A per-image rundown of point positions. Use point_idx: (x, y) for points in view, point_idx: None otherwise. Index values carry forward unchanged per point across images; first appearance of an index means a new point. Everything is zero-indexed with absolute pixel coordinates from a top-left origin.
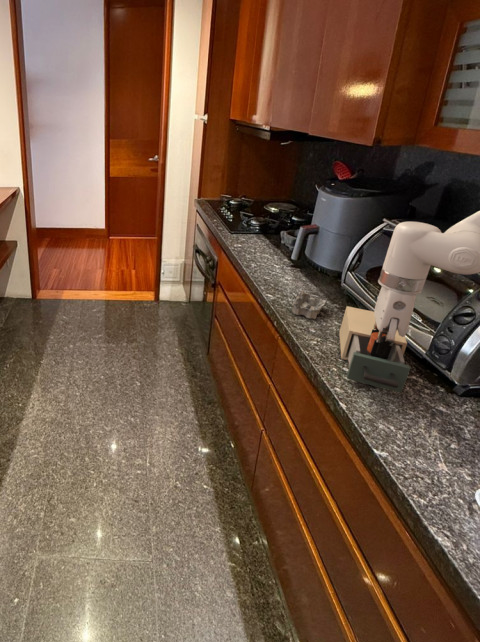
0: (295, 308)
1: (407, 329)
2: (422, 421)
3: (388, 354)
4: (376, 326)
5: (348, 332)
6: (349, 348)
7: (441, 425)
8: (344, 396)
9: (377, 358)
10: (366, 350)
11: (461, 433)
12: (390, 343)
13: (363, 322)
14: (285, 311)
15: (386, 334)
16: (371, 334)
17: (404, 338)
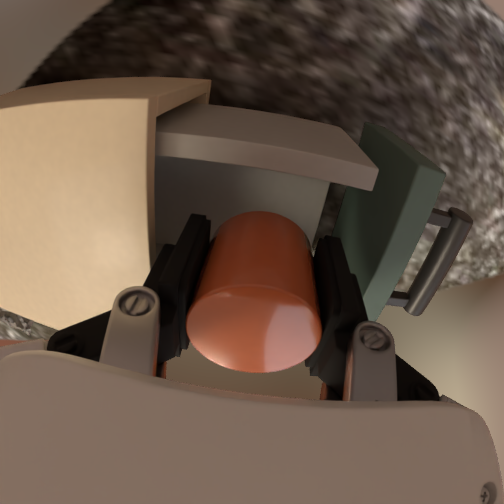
0: (30, 326)
1: (499, 482)
2: (479, 115)
3: (344, 258)
4: (165, 374)
5: None
6: None
7: (484, 68)
8: (399, 286)
9: (370, 301)
10: None
11: (497, 34)
12: (414, 372)
13: (42, 285)
14: (41, 325)
15: (186, 296)
16: (238, 370)
17: (84, 106)
